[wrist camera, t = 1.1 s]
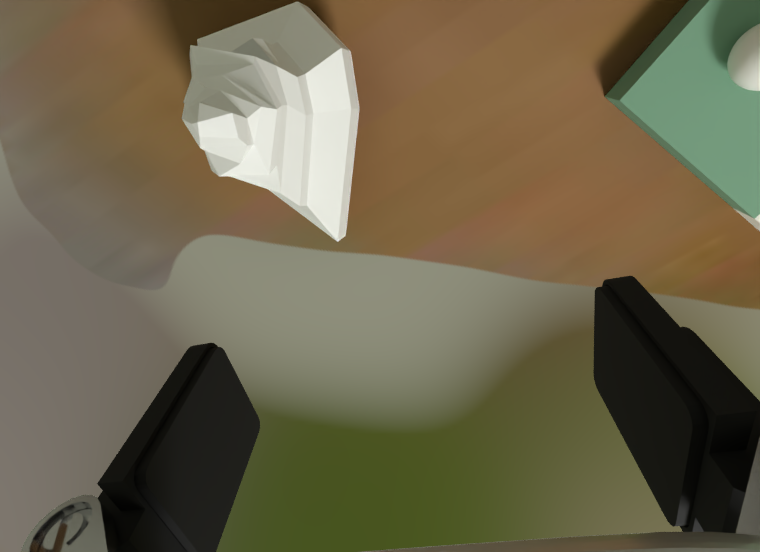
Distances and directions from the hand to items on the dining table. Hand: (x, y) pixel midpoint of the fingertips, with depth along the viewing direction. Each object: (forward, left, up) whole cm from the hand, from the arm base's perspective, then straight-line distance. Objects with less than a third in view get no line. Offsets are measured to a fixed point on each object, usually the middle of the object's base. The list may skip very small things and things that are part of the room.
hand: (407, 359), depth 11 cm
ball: (-18, +15, -22) cm, 32 cm away
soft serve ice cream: (+3, -9, -27) cm, 28 cm away
